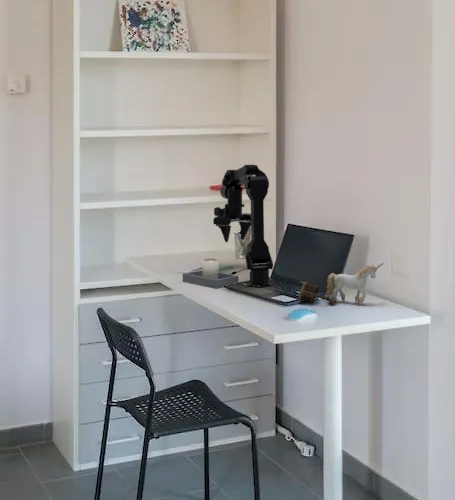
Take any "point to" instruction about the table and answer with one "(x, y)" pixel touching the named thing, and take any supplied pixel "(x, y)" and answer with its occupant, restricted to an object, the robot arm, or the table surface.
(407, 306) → the table surface
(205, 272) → the ceramic cup
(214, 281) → the desk tray
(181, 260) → the table surface
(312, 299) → the brown wooden mallet
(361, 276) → the unicorn figurine
